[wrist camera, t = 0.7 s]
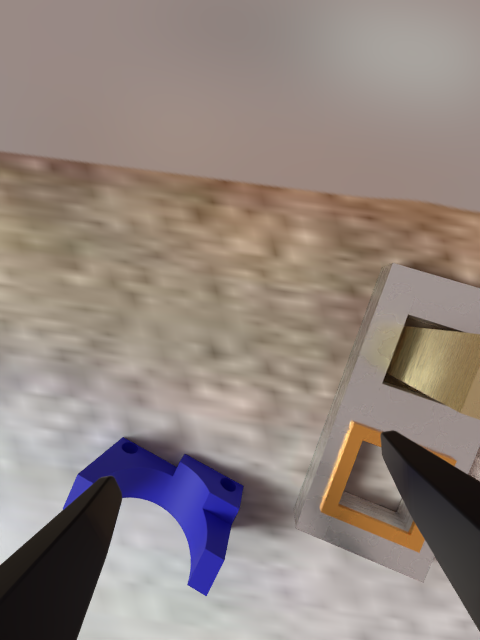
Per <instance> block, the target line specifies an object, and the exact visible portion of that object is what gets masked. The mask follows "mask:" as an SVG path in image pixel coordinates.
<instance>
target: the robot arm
mask: <svg viewBox="0 0 480 640" xmlns="http://www.w3.org/2000/svg"><path fill="white" fill-rule="evenodd" d="M380 437H381V448H382V455H383V459H384V461H385V463H386V465H387V467H388V470H389V472H390V474H391V476H392V478H393V480H394V482H395V484H396V486H397V488H398V491H399V493H400V495H401V497H402V499H403V501H404V503H405V505H406V507H407V509H408V511H409V513H410V515H411V517H412V519H413V520H414V522H415V524H416V526H417V527H418V529H419V531H420V532H421V534H422V536H423V537H424V539H425V541H426V542H427V544H428V546H429V547H430V549H431V551H432V552H433V554H434V556H435V557H436V559H437V561H438V563H439V564H440V566H441V568H442V569H443V571H444V573H445V574H446V576H447V578H448V579H449V581H450V583H451V584H452V586H453V588H454V589H455V591H456V593H457V594H458V596H459V598H460V599H461V601H462V603H463V604H464V606H465V608H466V610H467V611H468V613H469V615H470V616H471V618H472V620H473V621H474V623H475V625H476V626H477V628H478V630H479V631H480V481H478V480H476V479H475V478H473V477H472V476H470V475H468V474H467V473H465V472H463V471H462V470H460V469H458V468H457V467H455V466H453V465H452V464H450V463H448V462H447V461H445V460H443V459H442V458H440V457H438V456H437V455H435V454H433V453H432V452H430V451H428V450H427V449H425V448H423V447H422V446H420V445H418V444H417V443H415V442H413V441H412V440H410V439H408V438H407V437H405V436H404V435H402V434H400V433H399V432H397V431H394V430H391V431H385V432H382V433H381V435H380ZM121 502H122V492H121V490H120V488H119V486H118V484H117V481H116V479H115V478H114V477H113V476H105V477H101V478H99V479H98V480H97V481H96V482H95V483H93V484H92V485H91V486H90V487H89V488H88V489H87V490H85V491H84V492H83V493H82V494H81V495H80V496H79V497H77V498H76V499H75V500H74V501H73V502H72V503H71V504H69V505H68V506H67V507H66V508H65V509H64V510H63V511H61V512H60V513H59V514H58V515H57V516H56V517H55V518H54V519H52V520H51V521H50V522H49V523H48V524H47V525H46V526H44V527H43V528H42V529H41V530H40V531H39V532H38V533H36V534H35V535H34V536H33V537H32V538H31V539H30V540H28V541H27V542H26V543H25V544H24V545H23V546H22V547H20V548H19V549H18V550H17V551H16V552H15V553H14V554H12V555H11V556H10V557H9V558H8V559H7V560H6V561H4V562H3V563H2V564H1V565H0V640H77V637H78V634H79V632H80V629H81V626H82V623H83V620H84V618H85V615H86V612H87V609H88V607H89V604H90V601H91V598H92V595H93V593H94V590H95V587H96V584H97V581H98V579H99V576H100V573H101V570H102V567H103V565H104V562H105V559H106V556H107V553H108V549H109V546H110V542H111V539H112V535H113V531H114V528H115V524H116V520H117V517H118V513H119V509H120V505H121Z"/></svg>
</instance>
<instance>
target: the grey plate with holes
mask: <svg viewBox="0 0 480 640" xmlns="http://www.w3.org/2000/svg"><path fill="white" fill-rule="evenodd" d="M407 318H410V319H413V320H416V321H419V322H423V323H426V324H429V325H432V326H435V327H439V328H442V329H445V330H448V331H455V332H464V333H473V334H480V288H477V287H474V286H470V285H467V284H463V283H460V282H457V281H453V280H450V279H446V278H443V277H439V276H436V275H433V274H429V273H426V272H422V271H419V270H415V269H412V268H409V267H405V266H402V265H398V264H395V263H392V264H389V265H387V266H384V267H382V269H381V272H380V275H379V277H378V280H377V283H376V286H375V288H374V291H373V294H372V296H371V299H370V302H369V305H368V307H367V310H366V313H365V316H364V318H363V321H362V324H361V327H360V329H359V332H358V335H357V338H356V340H355V343H354V346H353V349H352V351H351V354H350V357H349V360H348V362H347V365H346V368H345V370H344V373H343V376H342V379H341V381H340V384H339V387H338V390H337V392H336V395H335V398H334V401H333V403H332V406H331V409H330V412H329V414H328V417H327V420H326V423H325V425H324V428H323V431H322V434H321V436H320V439H319V442H318V444H317V447H316V450H315V453H314V455H313V458H312V461H311V464H310V466H309V469H308V472H307V475H306V477H305V480H304V483H303V486H302V488H301V491H300V494H299V497H298V499H297V502H296V505H295V508H294V518H295V528H296V529H298V530H301V531H303V532H305V533H308V534H310V535H312V536H315V537H317V538H319V539H322V540H324V541H326V542H329V543H331V544H334V545H336V546H338V547H341V548H343V549H345V550H348V551H350V552H352V553H355V554H357V555H359V556H362V557H364V558H366V559H369V560H371V561H374V562H376V563H378V564H381V565H383V566H385V567H388V568H390V569H392V570H395V571H397V572H399V573H402V574H404V575H406V576H409V577H411V578H413V579H416V580H418V581H421V582H423V583H424V580H425V578H426V575H427V573H428V570H429V568H430V566H431V563H432V561H433V558H434V554H433V552H432V551H431V549H430V547H429V546H428V544H427V542H426V541H425V539H424V537H423V536H422V534H421V532H420V531H419V529H418V527H417V526H416V524H415V522H414V520H413V519H412V517H411V515H410V513H409V511H408V509H407V507H406V505H405V503H404V501H403V499H401V502H400V504H399V507H398V510H397V512H395V511H392V510H390V509H387V508H385V507H382V506H380V505H377V504H375V503H372V502H370V501H367V500H365V499H362V498H360V497H357V496H355V495H352V494H350V493H347V492H345V491H344V488H345V486H346V483H347V480H348V478H349V475H350V472H351V470H352V467H353V464H354V462H355V459H356V457H357V454H358V451H359V449H360V446H361V443H362V441H366V442H369V443H371V444H374V445H377V446H379V447H381V437H380V435H381V433H382V432H385V431H391V430H394V431H397V432H399V433H400V434H402V435H404V436H405V437H407V438H408V439H410V440H412V441H413V442H415V443H417V444H418V445H420V446H422V447H423V448H425V449H427V450H428V451H430V452H432V453H433V454H435V455H437V456H438V457H440V458H442V459H443V460H445V461H447V462H448V463H450V464H452V465H453V466H455V467H457V468H458V469H460V470H462V471H463V472H465V473H467V474H468V473H469V471H470V469H471V466H472V464H473V461H474V459H475V456H476V454H477V452H478V449H479V447H480V420H479V419H476V418H473V417H470V416H467V415H464V414H461V413H459V412H457V411H456V410H454V409H452V408H450V407H448V406H446V405H445V404H443V403H441V402H439V401H437V400H435V399H434V398H431V397H429V396H426V395H423V394H420V393H417V392H414V391H411V390H408V389H405V388H402V387H399V386H397V385H394V384H391V383H388V382H385V381H383V380H384V377H385V374H386V372H387V369H388V366H389V364H390V361H391V358H392V356H393V353H394V350H395V348H396V345H397V342H398V340H399V337H400V335H401V332H402V329H403V327H404V324H405V321H406V319H407Z"/></svg>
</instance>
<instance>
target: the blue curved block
mask: <svg viewBox="0 0 480 640" xmlns="http://www.w3.org/2000/svg"><path fill="white" fill-rule="evenodd" d="M105 476H113V477H114V478H115V479H116V481H117V484H118V486H119V488H120V490H121V492H122V498H128V497H131V498H140V499H145V500H148V501H151V502H153V503H155V504H157V505H159V506H161V507H163V508H164V509H165V510H167V511H168V512H169V513H170V514H171V515H172V516H173V517H174V518H175V519H176V520H177V522H178V523H179V524H180V526H181V527H182V529H183V531H184V533H185V535H186V538H187V541H188V544H189V549H190V555H191V569H190V576H189V580H188V584H187V585H189V586H190V587H192V588H194V589H195V590H197V591H199V592H200V593H202V594H203V595H205V596H207V594H208V592H209V590H210V588H211V586H212V584H213V582H214V580H215V578H216V576H217V574H218V572H219V570H220V568H221V566H222V564H223V562H224V560H225V555H226V550H227V545H228V540H229V535H230V530H231V525H232V523H233V521H234V519H235V517H236V515H237V513H238V511H239V509H240V503H241V498H242V492H243V487H244V486H243V485H241V484H239V483H237V482H235V481H234V480H232V479H230V478H228V477H226V476H224V475H223V474H221V473H219V472H217V471H215V470H214V469H212V468H210V467H208V466H206V465H204V464H203V463H201V462H199V461H197V460H195V459H193V458H192V457H190V456H188V455H186V454H184V456H183V457H182V459H181V461H180V462H179V465H178V467H176V466H174V465H172V464H171V463H169V462H167V461H165V460H163V459H162V458H160V457H158V456H156V455H154V454H153V453H151V452H149V451H147V450H145V449H144V448H142V447H140V446H138V445H136V444H135V443H133V442H131V441H129V440H127V439H125V438H124V437H123V438H121V439H120V440H119V441H118V442H116V443H115V444H114V445H113V446H112V447H110V448H109V449H108V450H107V451H105V452H104V453H103V454H102V455H101V456H99V457H98V458H97V459H96V460H95V461H93V462H92V463H91V464H90V465H88V466H87V467H86V468H85V469H84V470H82V471H81V472H80V473H79V474H78V475H77V477H76V479H75V482H74V484H73V486H72V489H71V491H70V493H69V496H68V498H67V500H66V503H65V505H64V507H63V510H64V509H65V508H66V507H67V506H68V505H69V504H71V503H72V502H73V501H74V500H75V499H76V498H77V497H79V496H80V495H81V494H82V493H83V492H84V491H85V490H87V489H88V488H89V487H90V486H91V485H92V484H93V483H95V482H96V481H97V480H98V479H99V478H101V477H105Z"/></svg>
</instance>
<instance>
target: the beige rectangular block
mask: <svg viewBox="0 0 480 640" xmlns="http://www.w3.org/2000/svg"><path fill="white" fill-rule="evenodd" d="M386 373H388V374H390V375H391V376H393V377H395V378H397V379H399V380H401V381H402V382H404V383H406V384H408V385H410V386H412V387H413V388H415V389H417V390H419V391H421V392H423V393H424V394H426V395H428V396H430V397H432V398H434V399H435V400H437V401H439V402H441V403H443V404H445V405H446V406H448V407H450V408H452V409H454V410H456V411H457V412H459V413H461V414H464V415H467V416H470V417H473V418H476V419H479V420H480V334H473V333H464V332H455V331H445V330H436V329H427V328H418V327H409V326H404V327H403V329H402V332H401V335H400V337H399V340H398V342H397V345H396V348H395V350H394V353H393V356H392V358H391V361H390V364H389V366H388V369H387V372H386Z"/></svg>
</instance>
